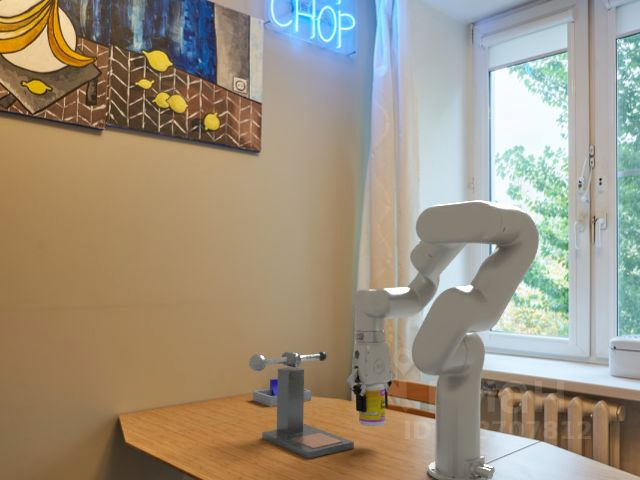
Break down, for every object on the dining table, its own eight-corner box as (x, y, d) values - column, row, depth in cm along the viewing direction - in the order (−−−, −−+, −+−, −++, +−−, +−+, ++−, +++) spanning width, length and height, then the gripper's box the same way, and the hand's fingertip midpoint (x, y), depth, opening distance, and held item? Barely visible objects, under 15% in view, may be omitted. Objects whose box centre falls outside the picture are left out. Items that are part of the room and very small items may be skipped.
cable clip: (295, 402, 187) (295, 384, 187) (282, 404, 185) (282, 385, 185) (282, 396, 197) (282, 378, 198) (269, 397, 195) (270, 379, 196)
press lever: (330, 365, 156) (330, 348, 156) (254, 373, 141) (254, 356, 141) (320, 362, 160) (320, 347, 160) (245, 371, 144) (245, 353, 145)
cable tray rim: (311, 399, 192) (311, 391, 192) (270, 406, 182) (270, 397, 182) (293, 394, 200) (293, 385, 201) (252, 400, 190) (252, 391, 190)
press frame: (353, 448, 140) (354, 376, 141) (308, 458, 132) (309, 382, 133) (305, 429, 156) (306, 365, 157) (262, 438, 147) (263, 370, 148)
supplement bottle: (384, 427, 139) (383, 374, 140) (357, 426, 140) (356, 373, 141) (386, 421, 145) (385, 370, 146) (361, 420, 147) (359, 370, 148)
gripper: (355, 340, 136) (356, 416, 135) (404, 336, 147) (406, 406, 145) (335, 339, 142) (336, 411, 141) (384, 335, 153) (386, 402, 151)
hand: (372, 408), depth 143 cm, fingers closed on supplement bottle, 6 cm apart
